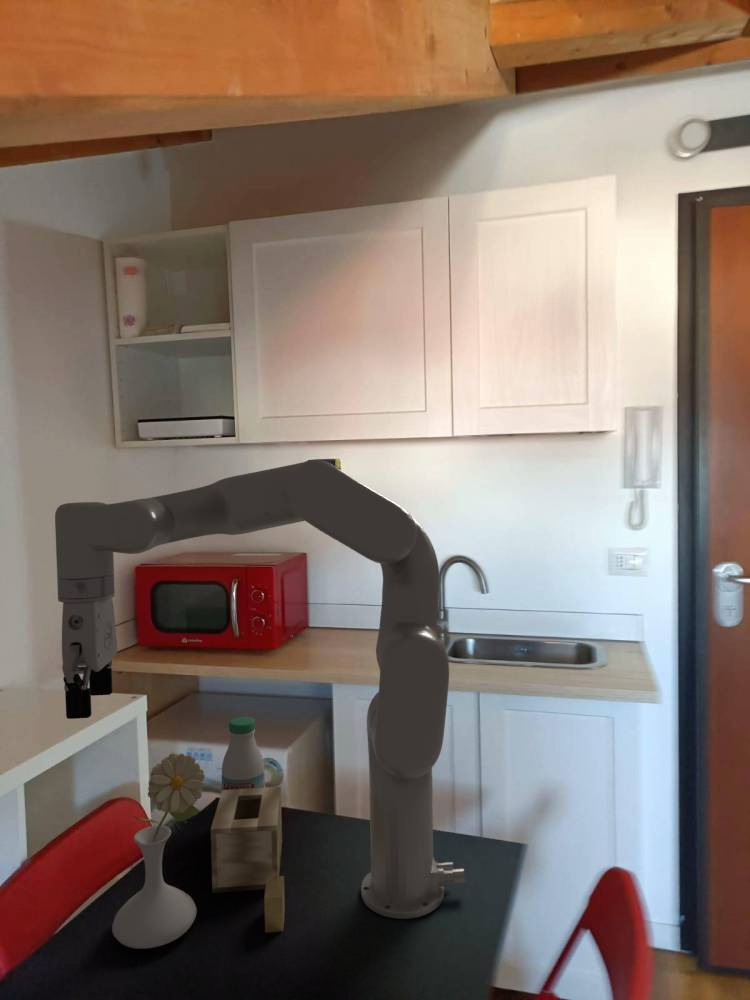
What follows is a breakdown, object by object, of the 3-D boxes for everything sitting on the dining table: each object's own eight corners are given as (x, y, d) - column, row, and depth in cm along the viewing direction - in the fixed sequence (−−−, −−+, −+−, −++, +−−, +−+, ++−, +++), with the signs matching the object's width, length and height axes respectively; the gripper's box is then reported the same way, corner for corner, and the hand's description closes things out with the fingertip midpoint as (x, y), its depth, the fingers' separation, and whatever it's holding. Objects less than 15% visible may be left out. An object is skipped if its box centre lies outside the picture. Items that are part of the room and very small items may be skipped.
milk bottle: (223, 820, 126) (220, 714, 126) (265, 816, 128) (263, 711, 127) (222, 842, 119) (218, 730, 118) (266, 837, 120) (263, 726, 119)
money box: (282, 843, 118) (280, 786, 118) (278, 888, 106) (276, 825, 105) (223, 846, 118) (222, 790, 117) (212, 892, 105) (210, 829, 104)
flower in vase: (108, 966, 89) (101, 779, 88) (116, 912, 100) (111, 745, 99) (210, 946, 93) (205, 766, 92) (207, 896, 104) (203, 735, 103)
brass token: (284, 908, 101) (283, 875, 100) (283, 931, 96) (282, 896, 96) (267, 910, 100) (266, 877, 100) (265, 932, 95) (264, 898, 95)
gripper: (93, 598, 90) (98, 726, 90) (129, 578, 107) (133, 685, 107) (34, 600, 89) (39, 729, 90) (80, 579, 106) (84, 688, 107)
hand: (90, 705), depth 99 cm, fingers open, 9 cm apart
